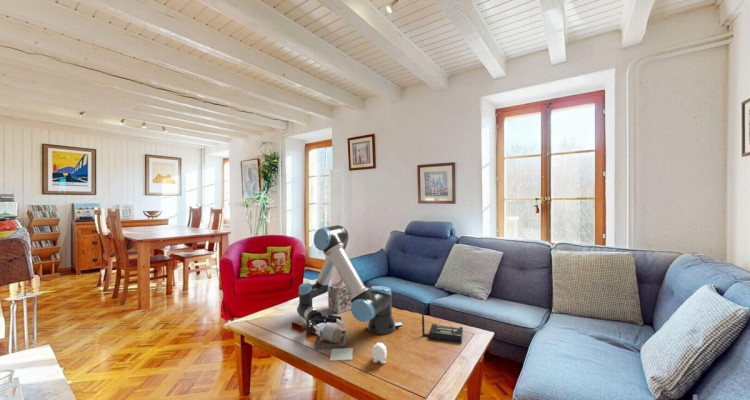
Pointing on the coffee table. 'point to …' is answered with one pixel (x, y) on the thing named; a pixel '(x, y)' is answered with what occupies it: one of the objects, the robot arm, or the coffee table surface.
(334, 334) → the ceramic mug
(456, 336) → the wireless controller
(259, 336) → the coffee table surface
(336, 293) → the decorative jar
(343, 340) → the square frame
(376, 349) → the white figurine
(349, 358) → the grey-green mat
